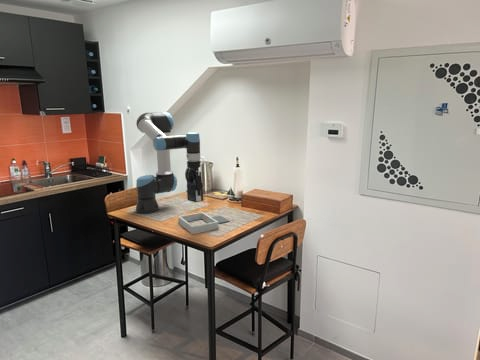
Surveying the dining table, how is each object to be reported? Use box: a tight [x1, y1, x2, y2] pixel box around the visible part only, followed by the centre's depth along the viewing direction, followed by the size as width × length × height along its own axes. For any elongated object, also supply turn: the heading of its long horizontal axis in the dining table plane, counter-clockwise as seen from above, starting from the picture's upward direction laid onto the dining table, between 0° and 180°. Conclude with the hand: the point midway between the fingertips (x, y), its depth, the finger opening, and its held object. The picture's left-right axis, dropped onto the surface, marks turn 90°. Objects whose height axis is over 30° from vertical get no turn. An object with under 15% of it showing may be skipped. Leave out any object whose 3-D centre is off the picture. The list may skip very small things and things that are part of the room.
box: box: [186, 180, 204, 203], centre depth 199 cm, size 8×6×11 cm
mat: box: [210, 214, 230, 225], centre depth 212 cm, size 12×10×1 cm
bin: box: [177, 211, 220, 235], centre depth 203 cm, size 22×16×4 cm
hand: (195, 198), depth 200 cm, fingers closed on box, 9 cm apart
